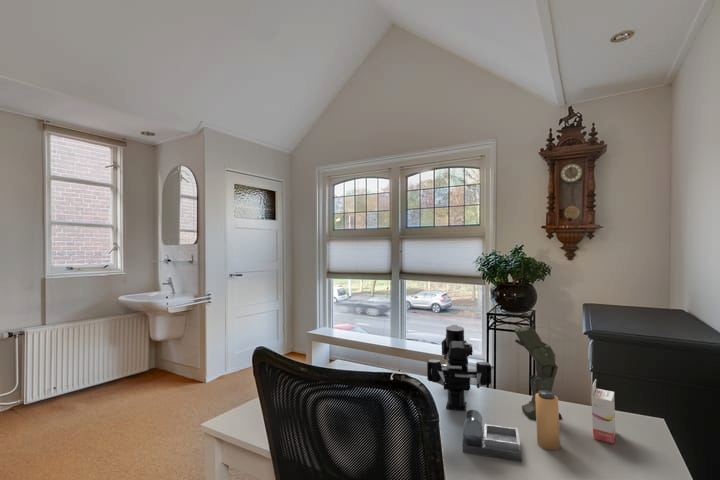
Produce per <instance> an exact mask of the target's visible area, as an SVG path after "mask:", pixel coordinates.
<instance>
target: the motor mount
mask: <svg viewBox="0 0 720 480" xmlns="http://www.w3.org/2000/svg"><path fill="white" fill-rule="evenodd" d="M463 422H464V424H463V431H462V435H463V436H462V453H465V454H469V455H470V454H471V455H477V456H483V457H489V458H496V459H501V460H508V461H509V460H510V461H516V462H519V463H520V462H522V450H521V449H522V448H521V441H520V434H519V430H518V427H510V426H509V427H508V426H502V425H494V424H487V423H484V426H483V417H482V414H481V413H480V412H479V411H478V410H476V409H469V410H466V412H465V415H464V421H463Z"/></svg>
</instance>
